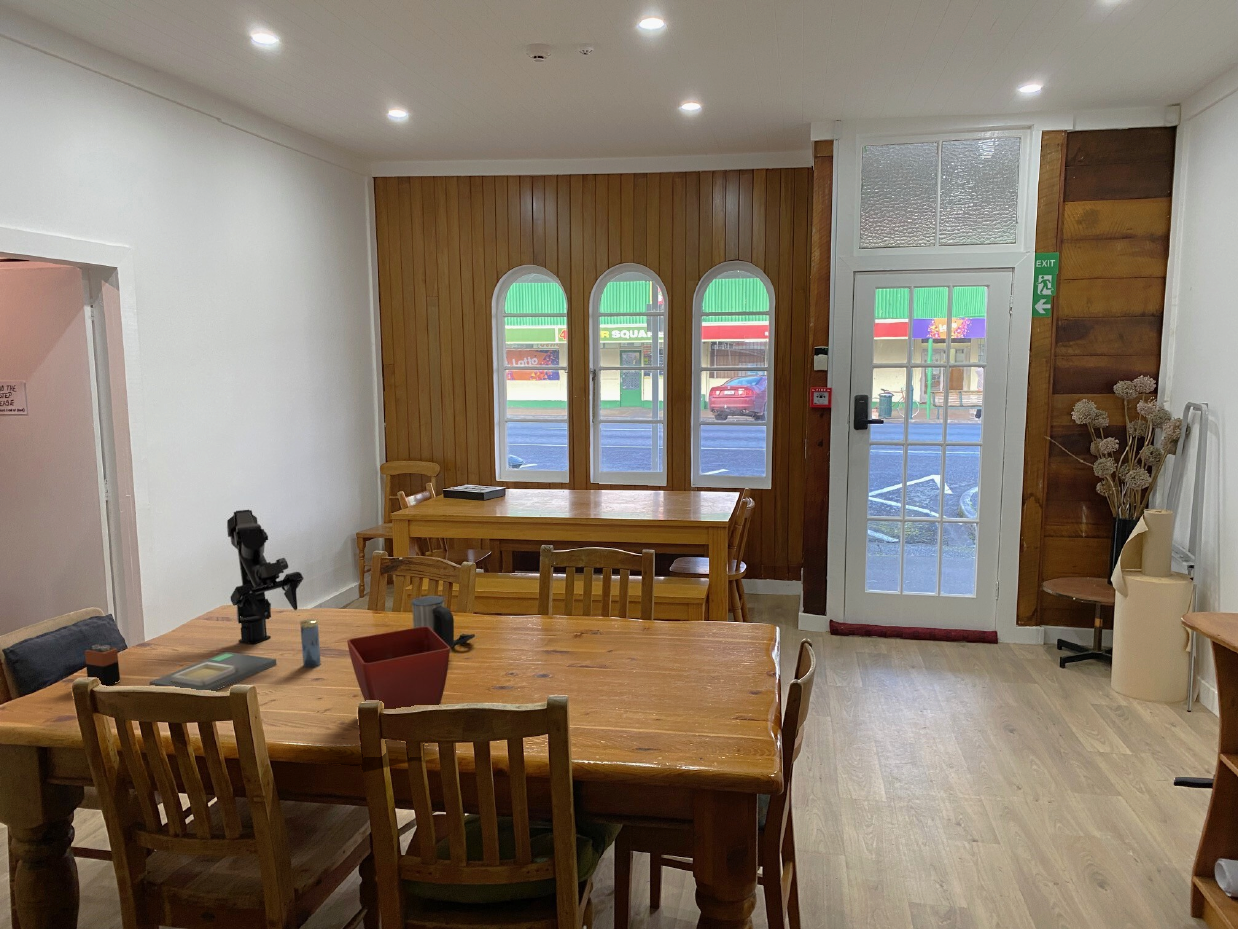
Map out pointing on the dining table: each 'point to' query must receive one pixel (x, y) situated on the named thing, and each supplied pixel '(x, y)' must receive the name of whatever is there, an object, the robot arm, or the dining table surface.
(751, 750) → the dining table surface
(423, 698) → the plant pot
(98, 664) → the battery
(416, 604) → the milk frother
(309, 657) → the cell
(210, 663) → the tester board
